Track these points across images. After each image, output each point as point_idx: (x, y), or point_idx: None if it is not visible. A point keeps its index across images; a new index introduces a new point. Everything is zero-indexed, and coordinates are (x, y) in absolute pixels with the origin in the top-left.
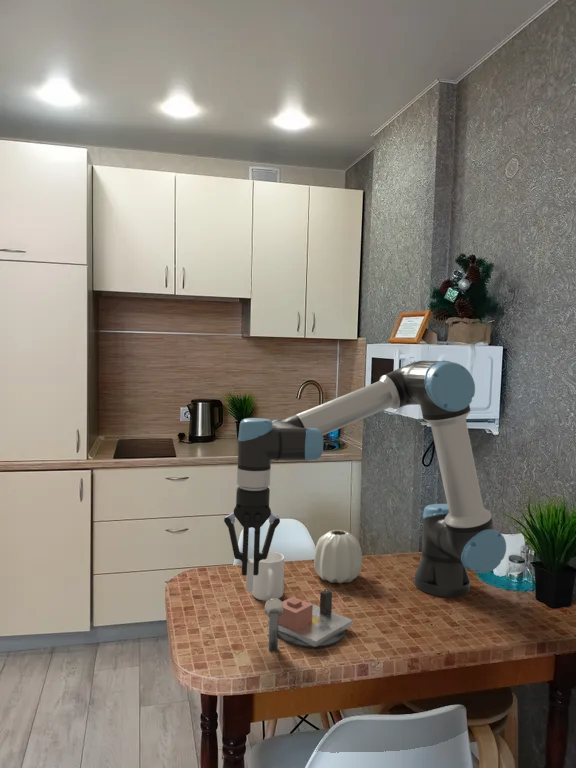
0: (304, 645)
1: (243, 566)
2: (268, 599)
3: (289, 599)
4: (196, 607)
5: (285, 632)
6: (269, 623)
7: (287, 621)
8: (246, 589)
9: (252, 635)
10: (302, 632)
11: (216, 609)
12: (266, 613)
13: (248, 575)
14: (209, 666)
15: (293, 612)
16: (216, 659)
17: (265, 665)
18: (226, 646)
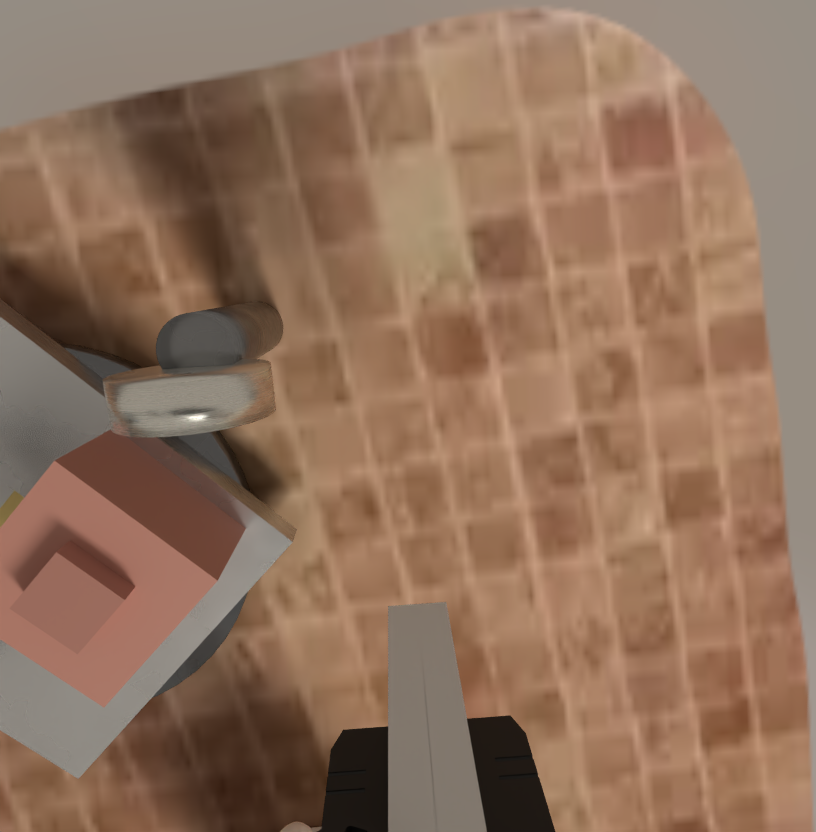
0: (75, 347)
1: (526, 803)
2: (316, 830)
3: (124, 666)
4: (687, 732)
5: (185, 446)
6: (249, 330)
7: (154, 478)
8: (445, 608)
9: (380, 466)
10: (66, 406)
11: (585, 720)
12: (262, 362)
13: (444, 700)
14: (592, 129)
15: (75, 473)
16: (559, 205)
17: (288, 148)
18: (513, 344)
